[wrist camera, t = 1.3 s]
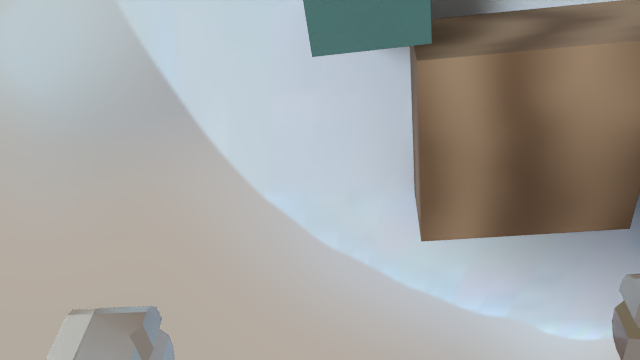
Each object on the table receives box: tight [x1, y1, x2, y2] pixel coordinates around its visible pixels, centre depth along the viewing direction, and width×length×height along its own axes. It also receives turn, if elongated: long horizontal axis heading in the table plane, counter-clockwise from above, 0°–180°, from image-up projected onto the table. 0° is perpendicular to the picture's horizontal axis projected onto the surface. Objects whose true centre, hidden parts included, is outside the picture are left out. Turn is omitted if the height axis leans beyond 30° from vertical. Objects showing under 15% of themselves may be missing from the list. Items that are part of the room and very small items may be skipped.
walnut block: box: [410, 0, 640, 241], centre depth 34 cm, size 12×12×5 cm
